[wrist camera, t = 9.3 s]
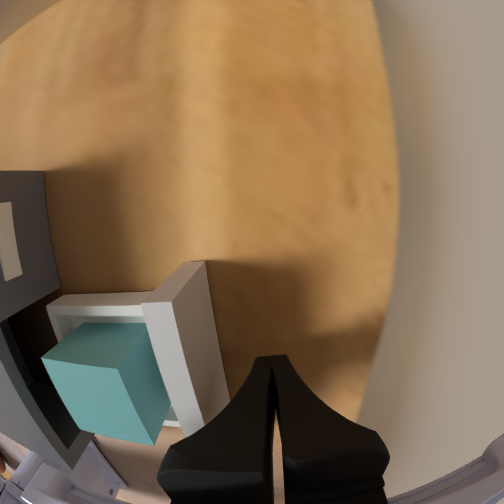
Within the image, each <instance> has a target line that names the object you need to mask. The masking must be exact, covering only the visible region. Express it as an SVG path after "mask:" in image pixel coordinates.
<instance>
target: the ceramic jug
mask: <svg viewBox="0 0 504 504" xmlns="http://www.w3.org/2000/svg"><path fill="white" fill-rule="evenodd" d="M5 470H6V466H5V462H4V460H3V458H2V456H1V455H0V473H4V472H5Z"/></svg>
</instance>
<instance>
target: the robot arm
mask: <svg viewBox="0 0 504 504" xmlns="http://www.w3.org/2000/svg"><path fill="white" fill-rule="evenodd" d="M275 408H276V414H277V420H278V425H279V431H280V437H281V443H282V458H283V474H284V491H285V504H495V503H497V502H498V501H499V500H501V499H502V498H503V497H504V434H503V435H501V436H500V437H498V438H497V439H496V440H494V441H493V442H492V443H491V444H490V445H489V446H488V447H487V448H486V450H485V451H484V453H483V455H482V456H480V457H478V458H477V459H475V460H473V461H472V462H470V463H468V464H466V465H465V466H463V467H461V468H459V469H457V470H455V471H453V472H452V473H449V474H447V475H445V476H443V477H441V478H439V479H437V480H435V481H433V482H430V483H428V484H426V485H423V486H421V487H418V488H416V489H414V490H411V491H408V492H406V493H403V494H400V495H397V496H394V497H391V498H388V499H387V498H386V495H385V492H384V489H383V487H384V486H385V483H384V480H383V477H382V475H383V474H384V471H385V470H386V467H387V465H388V463H389V460H390V455H389V452H388V449H387V448H386V446H385V444H384V442H383V441H382V439H381V438H380V436H379V435H378V433H377V432H376V431H373V430H370V429H368V428H366V427H363V426H360V425H358V424H356V423H354V422H352V421H350V420H348V419H347V418H345V417H343V416H342V415H340V414H339V413H337V412H336V411H334V410H333V409H331V408H330V407H329V406H327V405H326V404H325V403H324V402H323V401H322V400H320V399H319V398H318V397H317V396H316V395H315V394H314V393H313V392H312V391H311V390H310V389H309V388H308V386H307V385H306V384H305V383H304V382H303V380H302V379H301V378H300V376H299V375H298V374H297V372H296V371H295V369H294V368H293V366H292V364H291V362H290V360H289V358H288V356H287V355H286V354H284V355H273V356H260V357H257V358H256V359H255V362H254V364H253V367H252V369H251V371H250V373H249V375H248V376H247V378H246V380H245V381H244V383H243V385H242V386H241V388H240V389H239V390H238V392H237V393H236V395H235V396H234V397H233V399H232V400H231V401H230V402H229V403H228V404H227V406H226V407H225V408H224V409H223V410H222V411H221V412H220V413H219V414H218V415H217V416H215V417H214V418H213V419H212V420H211V421H210V422H209V423H207V424H206V425H205V426H203V427H202V428H200V429H199V430H198V431H196V432H195V433H193V434H192V435H190V436H188V437H186V438H184V439H183V440H181V441H179V442H177V443H175V444H173V445H171V446H170V447H169V449H168V451H167V453H166V455H165V456H164V458H163V461H162V463H161V466H160V469H159V472H158V475H157V481H158V483H159V484H160V486H161V487H162V488H163V490H164V491H165V492H166V493H167V495H168V496H169V497H170V498H171V503H170V504H274V487H273V455H272V452H273V436H274V422H275ZM120 488H121V489H125V490H127V488H128V486H127V485H126V484H125V483H124V482H123V480H122V479H121V478H120V477H119V476H118V475H117V473H116V472H115V471H114V470H113V468H112V467H111V466H110V465H109V463H108V462H107V461H106V459H105V458H104V457H103V455H102V454H101V453H100V451H99V450H98V449H97V447H96V446H95V444H94V443H93V441H92V440H91V441H90V442H89V444H88V446H87V447H86V449H85V451H84V452H83V454H82V455H81V457H80V459H79V460H78V462H77V464H76V465H75V467H74V469H73V470H70V469H68V468H66V467H63V466H61V465H59V464H57V463H55V462H53V461H50V460H48V459H46V458H44V457H42V456H40V455H39V454H37V453H35V452H33V451H31V450H30V452H29V453H28V454H27V456H26V457H25V458H24V460H23V461H22V462H21V464H20V465H19V466H18V468H17V469H16V471H15V472H14V473H13V475H12V476H11V477H10V479H9V480H5V481H4V480H2V478H0V504H131V503H128V502H124V501H121V500H118V499H115V498H116V495H117V493H118V491H119V489H120Z"/></svg>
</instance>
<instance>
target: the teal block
mask: <svg viewBox="0 0 504 504" xmlns="http://www.w3.org/2000/svg"><path fill="white" fill-rule="evenodd" d="M41 359H42V361H43V363H44V365H45V368H46V370H47V372H48V374H49V376H50V378H51V380H52V382H53V384H54V386H55V388H56V390H57V392H58V394H59V395H60V397H61V399H62V401H63V403H64V404H65V406H66V408H67V409H68V411H69V413H70V414H71V416H72V418H73V419H74V421H75V423H76V424H77V426H78V427H79V429H81V430H85V431H88V432H92V433H96V434H99V435H103V436H107V437H112V438H116V439H121V440H125V441H130V442H136V443H141V444H147V445H155V443H156V440H157V438H158V435H159V433H160V430H161V428H162V425H163V423H164V420H165V418H166V415H167V413H168V411H169V408H170V406H171V401H170V398H169V396H168V393H167V390H166V387H165V384H164V381H163V379H162V376H161V373H160V370H159V367H158V363H157V360H156V357H155V354H154V351H153V347H152V344H151V340H150V337H149V333H148V330H147V326H146V323H93V322H83V323H82V324H81V325H80V326H78V327H77V328H76V329H75V330H74V331H72V332H71V333H70V334H69V335H67V336H66V337H65V338H64V339H63V340H61V341H60V342H59V343H58V344H57V345H55V346H54V347H53V348H52V349H51V350H50V351H48V352H47V353H46V354H45V355H44V356H42V357H41Z"/></svg>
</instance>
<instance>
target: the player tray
mask: <svg viewBox="0 0 504 504" xmlns="http://www.w3.org/2000/svg"><path fill="white" fill-rule="evenodd" d="M46 308H47V311H48V315H49V318H50V321H51V324H52V327H53V329H54V332H55V335H56V338H57V340H58V343H59V342H60V341H61V340H63V339H64V338H65V337H66V336H67V335H69V334H70V333H71V332H72V331H74V330H75V329H76V328H77V327H78V326H80V325H81V324H82V323H83V322H93V323H146V326H147V330H148V333H149V337H150V340H151V344H152V347H153V351H154V354H155V357H156V360H157V363H158V367H159V370H160V373H161V376H162V379H163V381H164V384H165V387H166V390H167V393H168V396H169V398H170V401H171V406H170V408H169V411H168V413H167V415H166V418H165V420H164V423H163V426H173V427H181V429H182V431H183V433H184V436H185V438H186V437H188V436H190V435H192V434H193V433H195V432H196V431H198V430H199V429H200V428H202V427H203V426H205V425H206V424H207V423H209V422H210V421H211V420H212V419H213V418H214V417H215V416H217V415H218V414H219V413H220V412H221V411H222V410H223V409H224V408H225V407H226V406H227V404H228V403H229V402H230V397H229V393H228V388H227V383H226V378H225V373H224V368H223V363H222V358H221V353H220V348H219V343H218V337H217V332H216V326H215V321H214V315H213V309H212V303H211V297H210V291H209V285H208V278H207V272H206V265H205V261H197V262H186V263H183V264H182V265H181V266H179V267H178V268H177V269H176V270H175V271H174V272H173V273H172V274H171V275H170V276H169V277H168V278H166V279H165V280H164V281H163V282H162V283H161V284H160V285H159V286H158V287H157V288H156V289H155V290H154V291H145V292H125V293H102V294H72V295H63V296H61V297H60V298H58V299H56V300H54V301H53V302H51V303H50V304H48V305H46Z"/></svg>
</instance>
